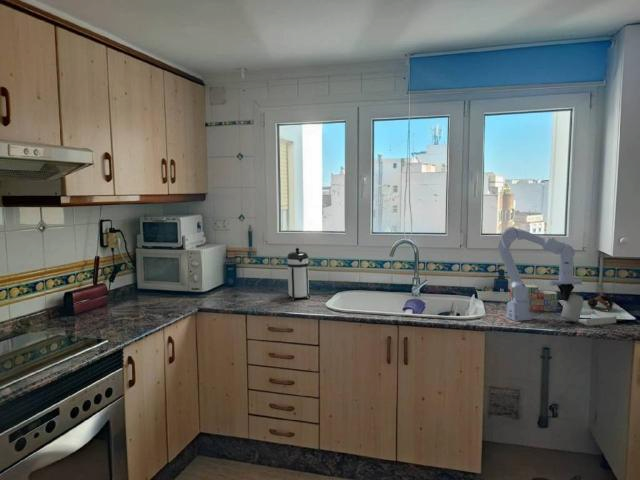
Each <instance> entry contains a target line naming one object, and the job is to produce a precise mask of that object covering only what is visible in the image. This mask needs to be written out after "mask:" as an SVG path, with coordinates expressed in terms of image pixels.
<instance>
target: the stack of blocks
mask: <svg viewBox="0 0 640 480" xmlns="http://www.w3.org/2000/svg"><path fill="white" fill-rule="evenodd" d="M524 285H525V286H526V287H527V288H528V290H529V292H528V299H529V312H531V311H532V312H533V311H534V312H558V296H559V295H558V293H557V291H555V290H553V291H552V290H539V287H538V286H537V285H536V284H524ZM509 291H510V294H509V295H510V296H509V297H510V301H512V300H513V298H514V290H513V287H512V283H511V284H510V290H509Z"/></svg>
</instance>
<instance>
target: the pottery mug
mask: <svg viewBox="0 0 640 480" xmlns="http://www.w3.org/2000/svg"><path fill="white" fill-rule="evenodd" d="M598 303H600V304H602V305H603V306H604V307H606V308H605V310H609V311H610V310H612V309H613V306H614V301H613V300H612V299H611V298H610V297H608V296H606V295H602V294H600V295H598V296H596V297H594V298H589V299H588V300H587V305H588V306H589V308H590V307H591V309H593V308H594V309H595V308H596V307H597V305H598ZM595 306H596V307H595ZM605 310H604V311H605Z"/></svg>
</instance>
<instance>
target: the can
mask: <svg viewBox="0 0 640 480" xmlns="http://www.w3.org/2000/svg"><path fill="white" fill-rule="evenodd" d="M584 301H585V300H584V296H581V295H578V294H573V293H570V295H569V298H568V301H564V303H563V306H562V311H561V314H560V317H561V318H562V319H563V320H567V321H571V322H574V323H578V322H577V321H579V318H580V314H581V311H583V306H584Z"/></svg>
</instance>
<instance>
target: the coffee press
mask: <svg viewBox="0 0 640 480" xmlns="http://www.w3.org/2000/svg"><path fill="white" fill-rule="evenodd" d="M286 259H287V260H286V261H287V264H286V265H287V266H286V267H287V285H288V287H287V289H288V291H287V292H288V293H287V296H288V295H289V296H291V297H290V298H291V299H294V298H295V299H296V298H306V297H308V298H310V299H311V296H310V293H309V292H310V291H309V289H310V288H309V287H310V286H309V255H308V253H307V252H306V251H305V252H304V251H300V248H299V247H296V248H295V251H291V252H289V253H287V256H286Z"/></svg>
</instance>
